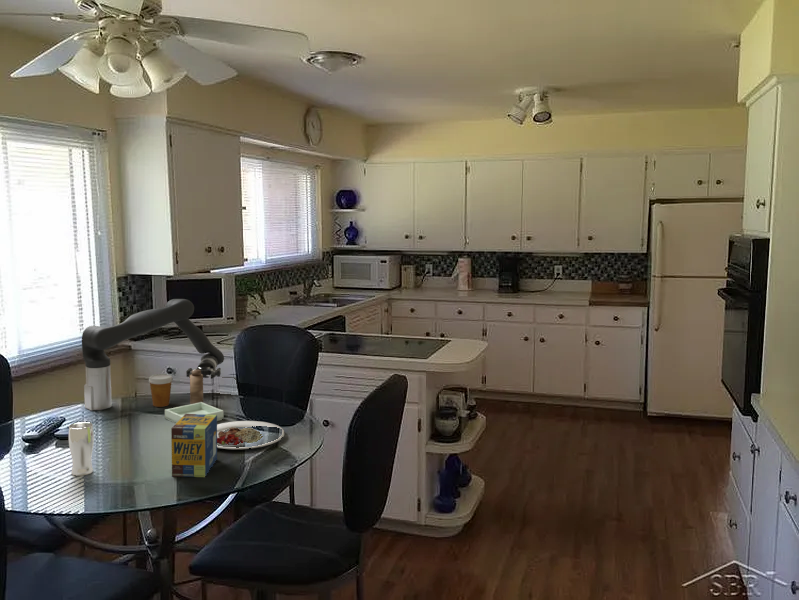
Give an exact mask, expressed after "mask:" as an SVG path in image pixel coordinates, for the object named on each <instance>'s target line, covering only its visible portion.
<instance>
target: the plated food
mask: <svg viewBox="0 0 799 600" xmlns="http://www.w3.org/2000/svg"><path fill="white" fill-rule="evenodd" d="M252 426H253V427H254V426H255V427H256V426H267V427H277V428H280V429H282V435H281V436H280V437H279V438H278V439H276V440H274V441H271V442H268V443H265V444H262V445H258V446H252V447H239V448H236V447H223V446H218V445H217V449H225V450H249V448H251V449H256V448H262V447H266V446H269V445H272V444H276V443H277V442H279V441H281V440H282V439H283V438H284V436H285V430H284V428H282V427H281V426H279V425H277V424H275V423H270V422H266V421H259V420H258V421H257V420H238V421H237V420H235V421H229V422H228V421H227V422H222V423H219V424H218V423H217V443H219V444H221V445H227V444H228V445H237V444H239V443H240V442H241V443H243V442H247V443H253V442H257V441H258V440H260V439H261V438H262V437H263V436H261V435H262V434H260V432H259V431H257V430H255V429H253V428H243V429H239V428H236V427H252ZM227 429H229V431H227V432H224V431H225V430H227ZM260 436H261V437H260ZM282 437H283V438H282ZM281 438H282V439H281Z"/></svg>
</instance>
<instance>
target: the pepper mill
mask: <svg viewBox="0 0 799 600" xmlns="http://www.w3.org/2000/svg"><path fill="white" fill-rule="evenodd" d="M200 402H203V403H204V378H203V374H201V370H194V369H192V375H190V378H189V405H190V404H195V403H200Z"/></svg>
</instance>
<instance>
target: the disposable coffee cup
mask: <svg viewBox="0 0 799 600" xmlns="http://www.w3.org/2000/svg"><path fill="white" fill-rule="evenodd" d="M173 380H174V378H173V377H172V375H171V374H168V373H157V374H152V375H150V376H149V378H148V383H149V386H150V394H151V399H152V400H151V401H152V406H153V407H156V408H162V407H168V406H169V405H170V402H171V401H170V398H171V389H172V382H173Z"/></svg>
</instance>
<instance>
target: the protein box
mask: <svg viewBox="0 0 799 600" xmlns="http://www.w3.org/2000/svg"><path fill="white" fill-rule="evenodd" d="M217 424H218V421H217V415H206V414H185V415H184V416H183V417H182V418H181V419H180V420H179V421H178V422H177V423H174V425H173V426H172V427H171V431H170V432H171V433H170V434H171V438H170V439H171V443H170V444H171V446H170V447H171V477H175V478H176V477H177V478H178V477H180V478H181V477H182V478H188V477H189V478H206V477H205V476H207V475H208V474H209V473H210V471H211V469H212V468H213V466H214V465H215V464H216V462H217V461H216V460H218V448H217ZM215 461H216V462H215ZM214 463H215V464H214ZM213 464H214V465H213ZM211 467H212V468H211ZM210 468H211V469H210ZM209 470H210V471H209ZM207 473H208V474H207Z"/></svg>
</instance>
